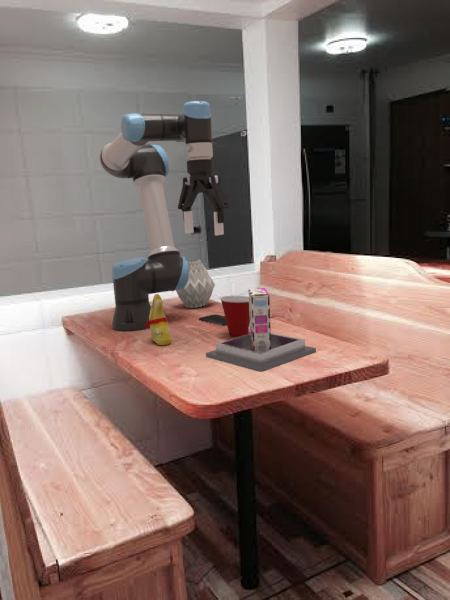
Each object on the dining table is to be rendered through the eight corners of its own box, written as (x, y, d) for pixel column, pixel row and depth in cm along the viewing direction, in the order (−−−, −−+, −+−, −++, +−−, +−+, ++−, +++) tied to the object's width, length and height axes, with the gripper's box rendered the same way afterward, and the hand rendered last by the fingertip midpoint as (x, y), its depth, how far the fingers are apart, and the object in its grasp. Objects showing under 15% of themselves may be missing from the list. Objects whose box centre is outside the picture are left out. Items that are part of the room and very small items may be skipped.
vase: (224, 304, 216) (221, 258, 212) (194, 312, 204) (191, 264, 201) (196, 301, 227) (193, 257, 223) (167, 308, 215) (163, 262, 212)
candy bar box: (272, 356, 139) (270, 293, 136) (253, 357, 139) (250, 295, 135) (268, 344, 150) (265, 286, 147) (250, 345, 150) (247, 288, 146)
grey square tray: (206, 356, 145) (205, 344, 145) (260, 339, 159) (259, 328, 158) (261, 371, 130) (260, 357, 129) (315, 351, 143) (315, 339, 143)
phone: (215, 314, 195) (241, 319, 183) (215, 317, 195) (241, 322, 183) (197, 318, 190) (222, 324, 179) (197, 321, 191) (222, 327, 179)
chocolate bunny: (163, 337, 169) (159, 290, 167) (174, 344, 160) (170, 295, 157) (142, 340, 167) (137, 293, 164) (152, 348, 157) (148, 298, 154)
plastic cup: (262, 336, 163) (260, 297, 161) (229, 341, 160) (226, 301, 157) (249, 328, 173) (247, 292, 171) (217, 333, 170) (215, 296, 167)
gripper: (163, 162, 159) (168, 233, 163) (219, 156, 140) (222, 237, 145) (183, 161, 163) (187, 231, 168) (239, 156, 145) (242, 234, 150)
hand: (203, 234), depth 156 cm, fingers open, 13 cm apart
